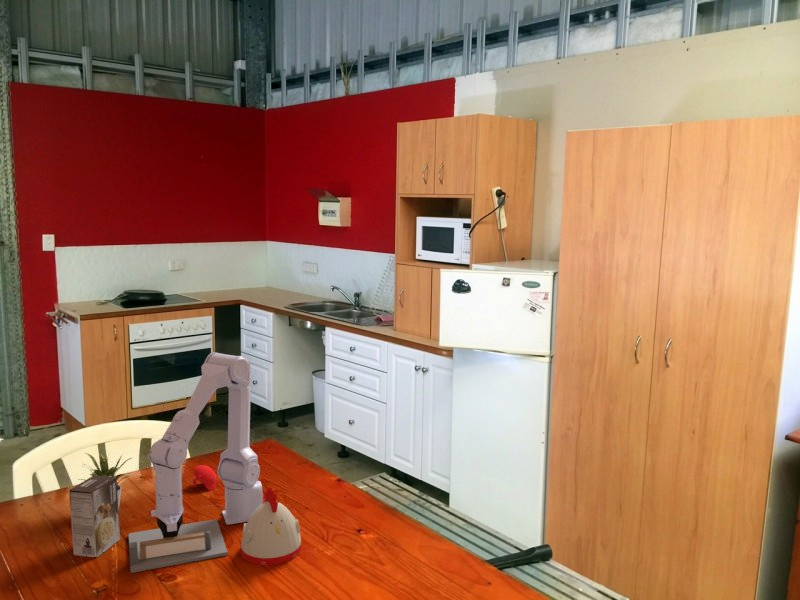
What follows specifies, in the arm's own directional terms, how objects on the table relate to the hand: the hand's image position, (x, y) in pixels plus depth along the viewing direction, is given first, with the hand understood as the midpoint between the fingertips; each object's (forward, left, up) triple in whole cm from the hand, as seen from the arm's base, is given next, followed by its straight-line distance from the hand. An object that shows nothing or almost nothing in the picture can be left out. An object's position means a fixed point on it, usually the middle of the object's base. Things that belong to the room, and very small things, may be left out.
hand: (170, 547), depth 158 cm
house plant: (+15, -30, -2) cm, 34 cm away
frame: (-2, -4, -2) cm, 5 cm away
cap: (-12, -37, -2) cm, 39 cm away
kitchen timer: (-22, +6, -2) cm, 23 cm away
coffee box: (+16, -10, -2) cm, 19 cm away
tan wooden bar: (0, +2, -1) cm, 2 cm away
